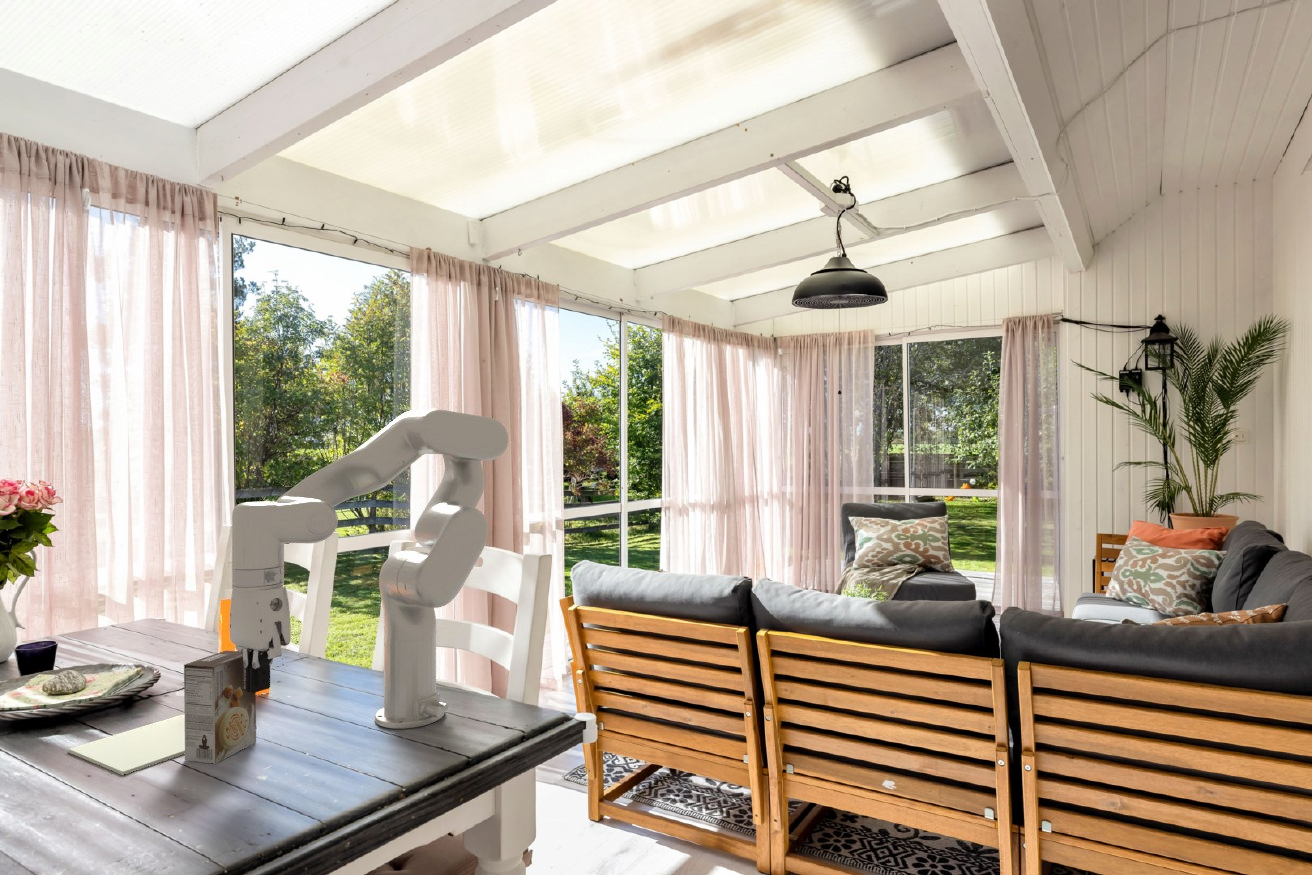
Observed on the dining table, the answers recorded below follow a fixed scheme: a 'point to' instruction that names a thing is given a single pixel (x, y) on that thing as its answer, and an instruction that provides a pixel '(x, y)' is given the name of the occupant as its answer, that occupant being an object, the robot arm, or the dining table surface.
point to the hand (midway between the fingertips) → (258, 689)
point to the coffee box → (217, 708)
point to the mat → (137, 746)
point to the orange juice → (227, 631)
